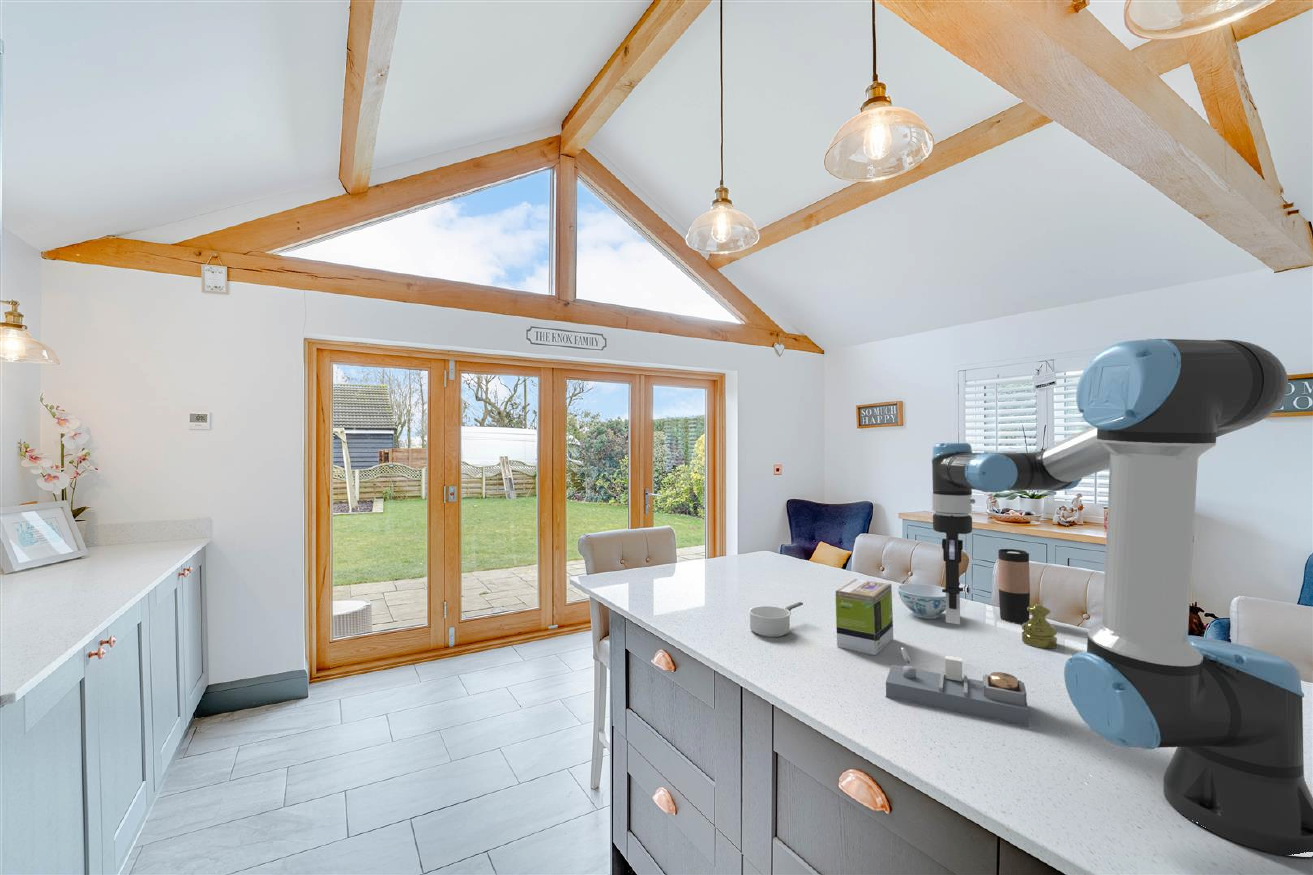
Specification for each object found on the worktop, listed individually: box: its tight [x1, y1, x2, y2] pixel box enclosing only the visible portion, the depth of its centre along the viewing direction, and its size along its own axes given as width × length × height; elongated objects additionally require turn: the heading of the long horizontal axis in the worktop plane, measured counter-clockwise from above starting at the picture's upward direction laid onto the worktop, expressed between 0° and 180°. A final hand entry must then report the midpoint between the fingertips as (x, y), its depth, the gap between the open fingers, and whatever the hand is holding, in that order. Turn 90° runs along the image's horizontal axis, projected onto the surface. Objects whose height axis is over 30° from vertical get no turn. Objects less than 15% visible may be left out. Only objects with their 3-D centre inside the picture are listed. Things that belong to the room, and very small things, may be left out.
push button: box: [989, 671, 1018, 692], centre depth 104 cm, size 4×4×2 cm
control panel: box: [885, 664, 1030, 727], centre depth 108 cm, size 10×24×5 cm, turn 60°
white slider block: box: [944, 655, 963, 681], centre depth 111 cm, size 2×3×4 cm, turn 60°
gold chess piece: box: [1021, 603, 1058, 650], centre depth 139 cm, size 7×8×10 cm
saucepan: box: [748, 601, 804, 638], centre depth 152 cm, size 12×20×6 cm, turn 129°
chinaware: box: [897, 583, 946, 620], centre depth 163 cm, size 15×15×8 cm
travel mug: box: [998, 548, 1031, 624], centre depth 159 cm, size 8×8×20 cm
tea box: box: [835, 578, 894, 656], centre depth 140 cm, size 15×10×15 cm, turn 141°
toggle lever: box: [900, 647, 911, 665], centre depth 113 cm, size 1×1×3 cm
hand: (952, 622), depth 118 cm, fingers closed
